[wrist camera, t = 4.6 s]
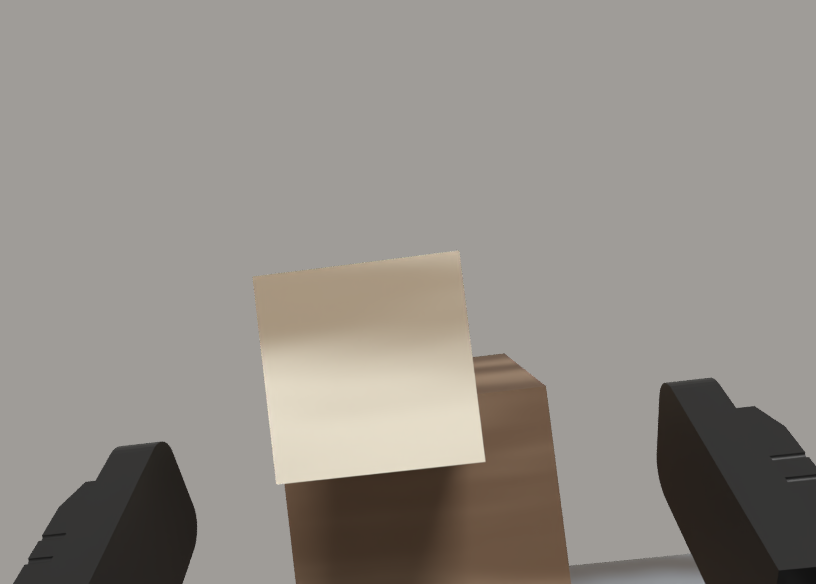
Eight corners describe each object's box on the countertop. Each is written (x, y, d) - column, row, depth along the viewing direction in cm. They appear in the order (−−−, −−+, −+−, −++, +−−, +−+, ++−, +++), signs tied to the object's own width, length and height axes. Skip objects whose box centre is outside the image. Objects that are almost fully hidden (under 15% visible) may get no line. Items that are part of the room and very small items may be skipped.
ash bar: (485, 461, 11) (459, 250, 11) (276, 484, 11) (252, 276, 11) (460, 358, 35) (452, 291, 35) (393, 366, 35) (385, 299, 35)
